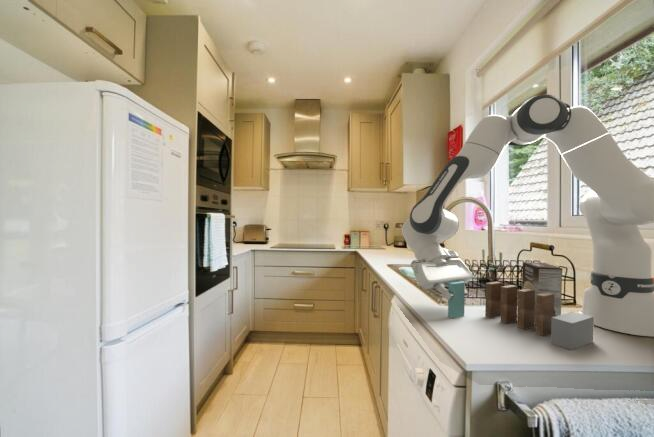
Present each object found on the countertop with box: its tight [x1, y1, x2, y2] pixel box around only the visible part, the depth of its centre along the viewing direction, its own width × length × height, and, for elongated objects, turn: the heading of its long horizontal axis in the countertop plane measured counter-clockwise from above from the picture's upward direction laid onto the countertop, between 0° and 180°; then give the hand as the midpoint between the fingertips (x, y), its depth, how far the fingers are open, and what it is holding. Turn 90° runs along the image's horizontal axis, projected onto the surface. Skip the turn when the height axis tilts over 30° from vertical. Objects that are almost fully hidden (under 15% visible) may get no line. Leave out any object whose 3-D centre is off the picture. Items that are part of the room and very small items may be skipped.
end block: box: [550, 311, 594, 351], centre depth 66 cm, size 10×4×6 cm, turn 116°
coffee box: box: [521, 261, 563, 324], centre depth 81 cm, size 9×6×16 cm
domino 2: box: [484, 281, 503, 319], centre depth 84 cm, size 2×5×10 cm, turn 116°
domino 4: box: [516, 288, 535, 330], centre depth 76 cm, size 2×5×10 cm, turn 116°
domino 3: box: [500, 284, 519, 324], centre depth 80 cm, size 2×5×10 cm, turn 116°
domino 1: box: [447, 282, 466, 319], centre depth 83 cm, size 2×5×10 cm, turn 117°
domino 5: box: [535, 293, 554, 337], centre depth 72 cm, size 2×5×10 cm, turn 116°
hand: (458, 297), depth 82 cm, fingers closed on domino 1, 5 cm apart
